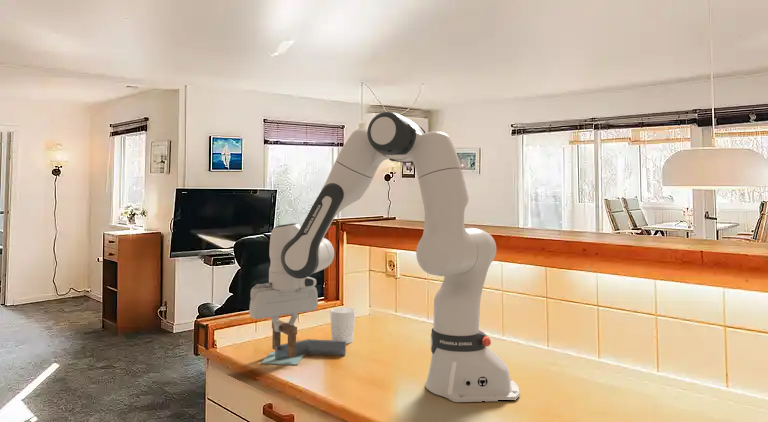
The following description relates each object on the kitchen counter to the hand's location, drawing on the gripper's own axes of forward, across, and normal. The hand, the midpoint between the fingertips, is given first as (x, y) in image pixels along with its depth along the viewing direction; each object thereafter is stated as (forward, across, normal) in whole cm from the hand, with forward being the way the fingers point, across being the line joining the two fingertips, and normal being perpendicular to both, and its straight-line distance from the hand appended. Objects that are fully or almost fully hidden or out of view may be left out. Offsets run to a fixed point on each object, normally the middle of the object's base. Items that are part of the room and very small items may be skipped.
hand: (284, 330), depth 148 cm
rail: (+8, +7, -4) cm, 11 cm away
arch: (+6, 0, 0) cm, 6 cm away
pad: (+8, 0, 0) cm, 8 cm away
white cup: (+8, +24, +4) cm, 25 cm away
